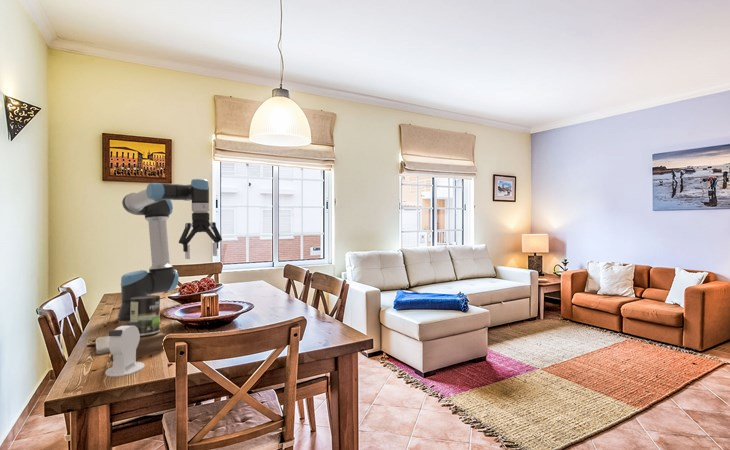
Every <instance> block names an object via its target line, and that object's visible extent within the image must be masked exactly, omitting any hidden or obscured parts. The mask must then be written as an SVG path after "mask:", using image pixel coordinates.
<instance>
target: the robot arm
mask: <svg viewBox="0 0 730 450" xmlns="http://www.w3.org/2000/svg"><path fill="white" fill-rule="evenodd" d="M209 186H210V185H209V180H208V179H202V178H195V179H194V178H193V179H191V183H190V184H182V183H181V184H180V183H163V182H162V183H161V182H160V183H159V182H150V183H148V185H147V186H146V188H145V189H143V190H141V191H139V192H129V193H128V194H126V195H125V196H124V197H123V198H122V202H121V203H122V208H123V209H124V210H125V211H126V212H127V213H128V214H132V215H135V216H144V219H145V221H147V223H148V232H149V233H148V234H149V245H150V246H149V247H150V257H151V266H150V267H149V269H148V271H147V270H146V269H145V270H144V269H143V270H135V271H130V272H127V273H125V274H123V275H121V277H120V288H121V289H120V290H121V291H120V293H121V295H120V296H121V305H120V308H119V311H118V313H117V320H118V321H125V322H130V310H131V308H130V307H131V300H130V298H132V297H139V296H150V295H154V294H160V293H168V292H171V291H174V290H175V289H176V288H177V286H178V284H179V277H180V276H179V273H178V270H177V269H174V265H172V264H171V262H170V252H169V238H168V227H167V220H169V218H170V215H172V213H173V203H172V202H173V201H191V212H192V213H191V221H192V222H186V223H185V226H184V229H183V232H182V233H181V236H180V238H179V240H178V244H181V245H182V247H183V248H182V249H183V253H184V257H185V259H186V260H190V259H191V251H190V250H191V249H190V244H189V243H190V242H191V240H192V239H193V238H194V236H195V235H196V234H197V233H206V235H208V237H210V239H211V240H212V243H211V245H212V256H213V257H218V250H219V243H220V242H221V241H223V238H222V236H221V234H220V232H219V230H218V228H217V223H216V222H214V221H212V222H210V212H209V211H210V187H209ZM191 228H192V229H191ZM210 228H211V229H210ZM190 230H191V231H190ZM211 230H212V231H211ZM189 232H190V233H189Z"/></svg>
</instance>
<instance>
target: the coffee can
mask: <svg viewBox="0 0 730 450" xmlns="http://www.w3.org/2000/svg"><path fill="white" fill-rule="evenodd" d="M130 300H131V307H130V308H131V310H130V321H129V322H139V324H140V326H139V329H138V330H139V333H140V336H143V335H150V334H155V333H158V332H160V331H161V330H160V329H161V324H160V323H161V321H160V318H161V317H160V315H161V310H160V309H161V305H160V304H161V295H154V294H149V295H148V296H139V297H132V298H130ZM160 333H161V332H160Z"/></svg>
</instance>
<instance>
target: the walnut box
mask: <svg viewBox="0 0 730 450" xmlns="http://www.w3.org/2000/svg"><path fill="white" fill-rule="evenodd" d="M165 336H166V337H167V334H165V333H164V332H158V333H155V334H150V335H143V336H140V340H139V344H138V346H137V348H136V359H137V358H140V357H142V356H143V357H144V356H146V355H150V354H154V353H157V351H158V352H160V351H164V350H163V345H162V343H163V339H164V337H165Z"/></svg>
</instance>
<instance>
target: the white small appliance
mask: <svg viewBox="0 0 730 450" xmlns="http://www.w3.org/2000/svg"><path fill="white" fill-rule="evenodd" d="M139 326H140V324H139V322H130V321H126V323H125V325H120V326H118V327H116V328H115V329H110V330H109V331H108V333H107V336H110V341H109V350H110V352H109V353H110V361H111V362H112V366H111V367H109V368H107V369H106V370H105V372H104V373H105V376H106V377H113V378H114V377H123V376H128V375H133V374H135V373H137V372H140V371H142V370H143V369H144V367H145V363H144V362H141V361H137V358H136V348H137V346H138V344H139V340H140V333H139V330H138V329H139Z"/></svg>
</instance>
